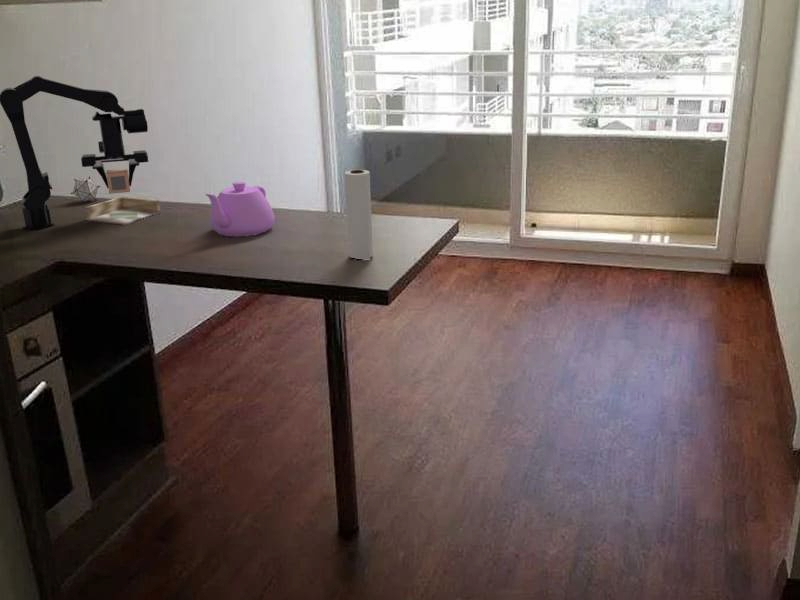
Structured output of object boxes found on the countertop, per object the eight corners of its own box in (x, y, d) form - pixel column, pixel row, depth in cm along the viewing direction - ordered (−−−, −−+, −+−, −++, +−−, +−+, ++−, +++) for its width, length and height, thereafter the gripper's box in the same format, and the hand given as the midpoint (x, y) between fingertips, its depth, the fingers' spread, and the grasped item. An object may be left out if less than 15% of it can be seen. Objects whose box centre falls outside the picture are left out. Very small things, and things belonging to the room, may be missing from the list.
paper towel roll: (351, 253, 201) (346, 168, 193) (374, 253, 200) (371, 168, 192) (346, 261, 194) (341, 174, 186) (370, 262, 193) (367, 174, 186)
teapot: (243, 217, 238) (238, 172, 233) (292, 223, 230) (288, 176, 226) (186, 239, 217) (180, 190, 213) (238, 246, 210) (233, 195, 205)
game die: (91, 211, 268) (99, 184, 270) (98, 206, 261) (106, 178, 263) (64, 201, 263) (73, 173, 265) (70, 196, 256) (79, 167, 259)
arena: (124, 224, 234) (122, 211, 232) (86, 220, 240) (84, 207, 239) (160, 213, 246) (158, 200, 245) (123, 209, 253) (121, 196, 251)
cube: (130, 192, 239) (127, 172, 237) (109, 193, 237) (106, 173, 235) (130, 188, 245) (127, 168, 242) (109, 189, 243) (106, 170, 241)
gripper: (143, 129, 245) (150, 179, 251) (79, 133, 240) (87, 184, 245) (144, 134, 235) (151, 186, 241) (77, 138, 230) (86, 191, 235)
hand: (119, 187), depth 241 cm, fingers closed on cube, 6 cm apart
